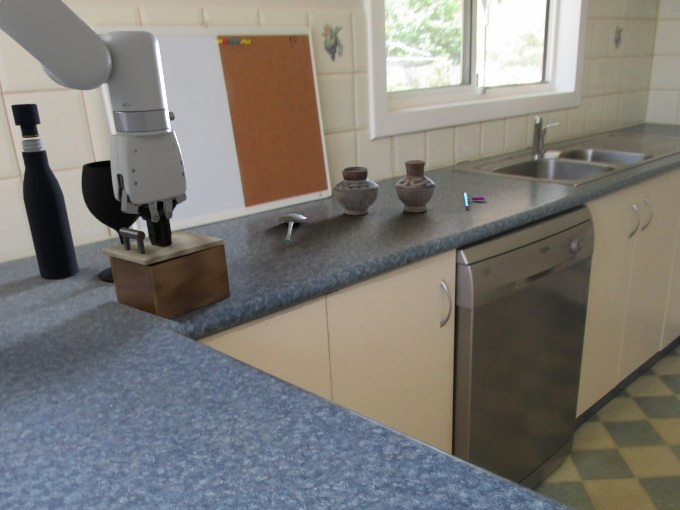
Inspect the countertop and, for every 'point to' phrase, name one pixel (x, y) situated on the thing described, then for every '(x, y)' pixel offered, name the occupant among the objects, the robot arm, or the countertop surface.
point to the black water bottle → (44, 202)
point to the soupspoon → (290, 225)
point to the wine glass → (104, 202)
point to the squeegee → (472, 199)
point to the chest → (172, 282)
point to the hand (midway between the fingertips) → (161, 244)
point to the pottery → (363, 192)
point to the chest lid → (151, 254)
